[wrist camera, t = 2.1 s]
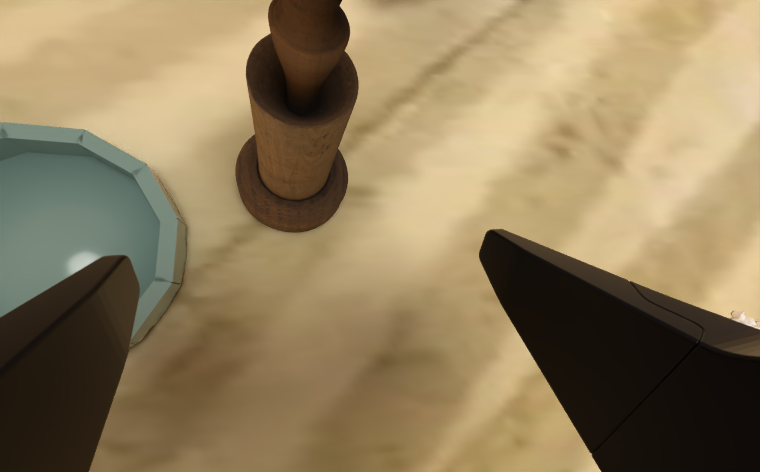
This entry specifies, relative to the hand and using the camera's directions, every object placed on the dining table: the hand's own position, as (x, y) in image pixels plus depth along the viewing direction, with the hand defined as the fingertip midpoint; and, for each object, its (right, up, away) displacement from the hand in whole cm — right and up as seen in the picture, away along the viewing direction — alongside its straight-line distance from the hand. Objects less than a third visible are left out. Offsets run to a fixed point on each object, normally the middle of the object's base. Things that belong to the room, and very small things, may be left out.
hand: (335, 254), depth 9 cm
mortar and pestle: (-5, +4, +14) cm, 15 cm away
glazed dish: (-16, -1, +9) cm, 19 cm away
